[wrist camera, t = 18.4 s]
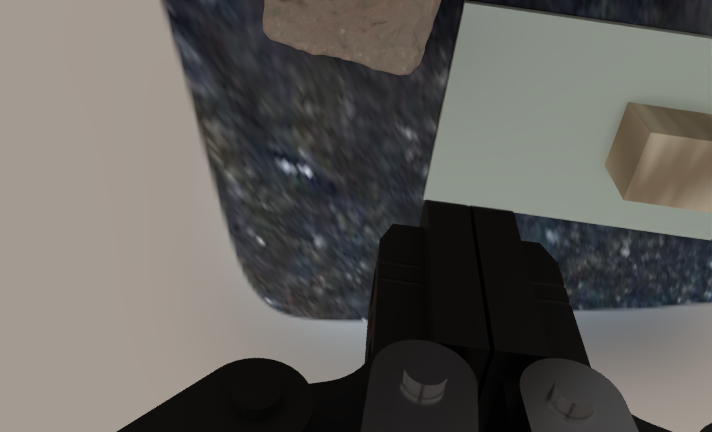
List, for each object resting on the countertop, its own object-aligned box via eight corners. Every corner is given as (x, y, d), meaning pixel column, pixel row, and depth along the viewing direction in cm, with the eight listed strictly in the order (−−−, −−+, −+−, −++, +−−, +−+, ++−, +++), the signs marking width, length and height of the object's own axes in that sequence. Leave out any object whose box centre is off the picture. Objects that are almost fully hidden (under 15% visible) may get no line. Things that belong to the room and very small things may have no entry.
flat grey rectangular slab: (464, -1, 35) (464, 2, 34) (799, 48, 35) (805, 52, 35) (423, 194, 41) (423, 199, 41) (707, 234, 42) (711, 240, 41)
